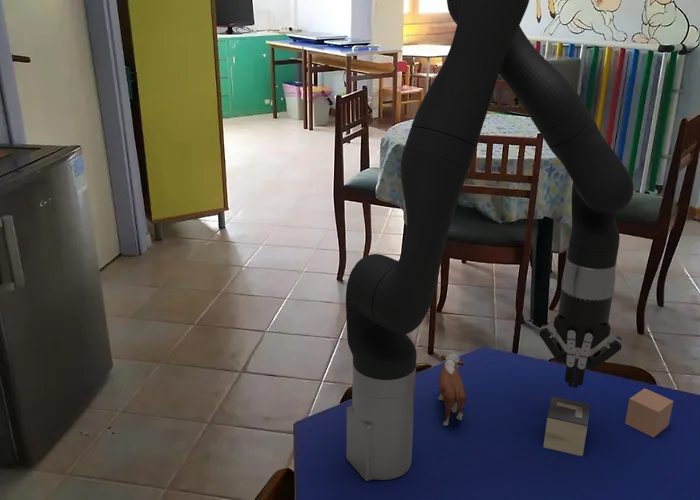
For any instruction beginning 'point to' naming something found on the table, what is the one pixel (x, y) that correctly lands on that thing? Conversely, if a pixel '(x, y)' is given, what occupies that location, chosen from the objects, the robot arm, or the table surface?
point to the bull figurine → (452, 387)
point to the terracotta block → (649, 412)
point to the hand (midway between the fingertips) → (573, 384)
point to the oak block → (566, 426)
